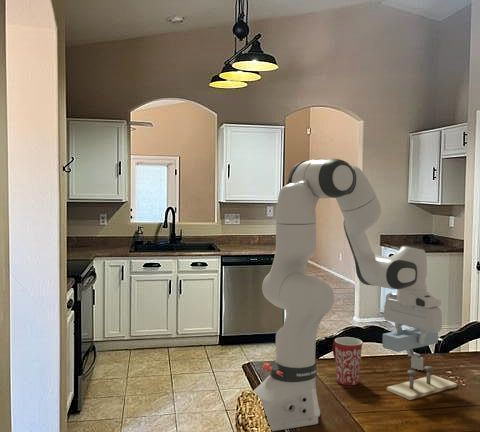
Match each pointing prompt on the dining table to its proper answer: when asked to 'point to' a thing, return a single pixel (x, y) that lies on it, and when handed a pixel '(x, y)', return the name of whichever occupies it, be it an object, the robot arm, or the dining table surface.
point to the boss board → (421, 385)
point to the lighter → (415, 360)
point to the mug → (347, 360)
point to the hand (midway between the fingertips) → (410, 340)
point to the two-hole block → (407, 339)
